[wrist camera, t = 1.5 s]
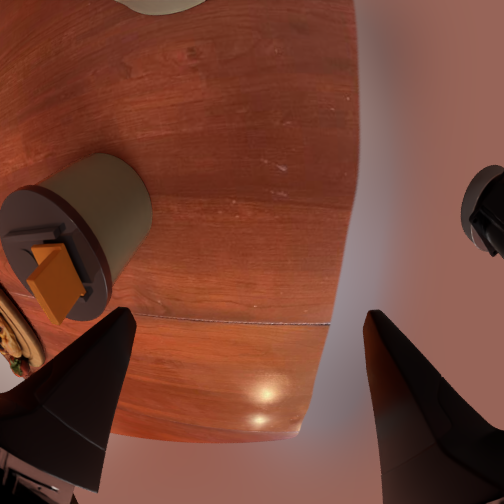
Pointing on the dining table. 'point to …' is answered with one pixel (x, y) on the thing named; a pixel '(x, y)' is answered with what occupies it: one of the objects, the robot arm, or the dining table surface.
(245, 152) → the dining table surface
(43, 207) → the round container with rails
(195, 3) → the can
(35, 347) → the wooden plate
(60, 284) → the slider
